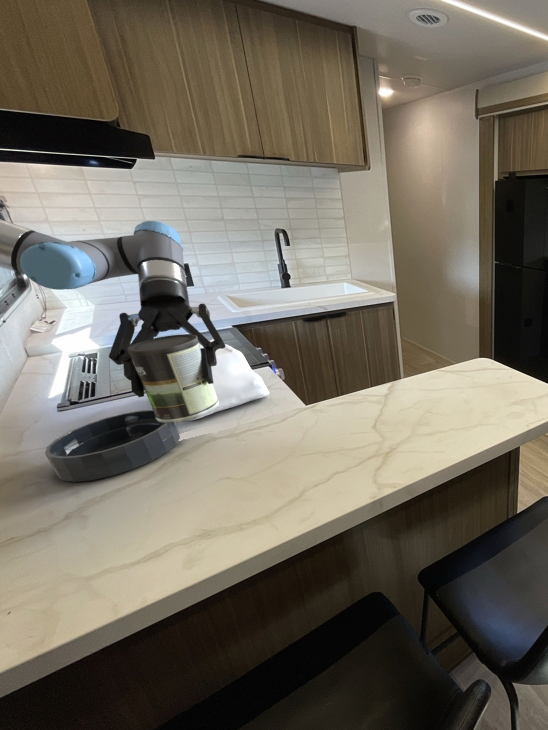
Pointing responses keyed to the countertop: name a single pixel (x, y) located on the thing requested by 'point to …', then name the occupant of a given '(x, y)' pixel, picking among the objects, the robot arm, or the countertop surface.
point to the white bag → (234, 380)
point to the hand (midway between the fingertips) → (174, 387)
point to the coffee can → (173, 377)
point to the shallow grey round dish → (111, 446)
